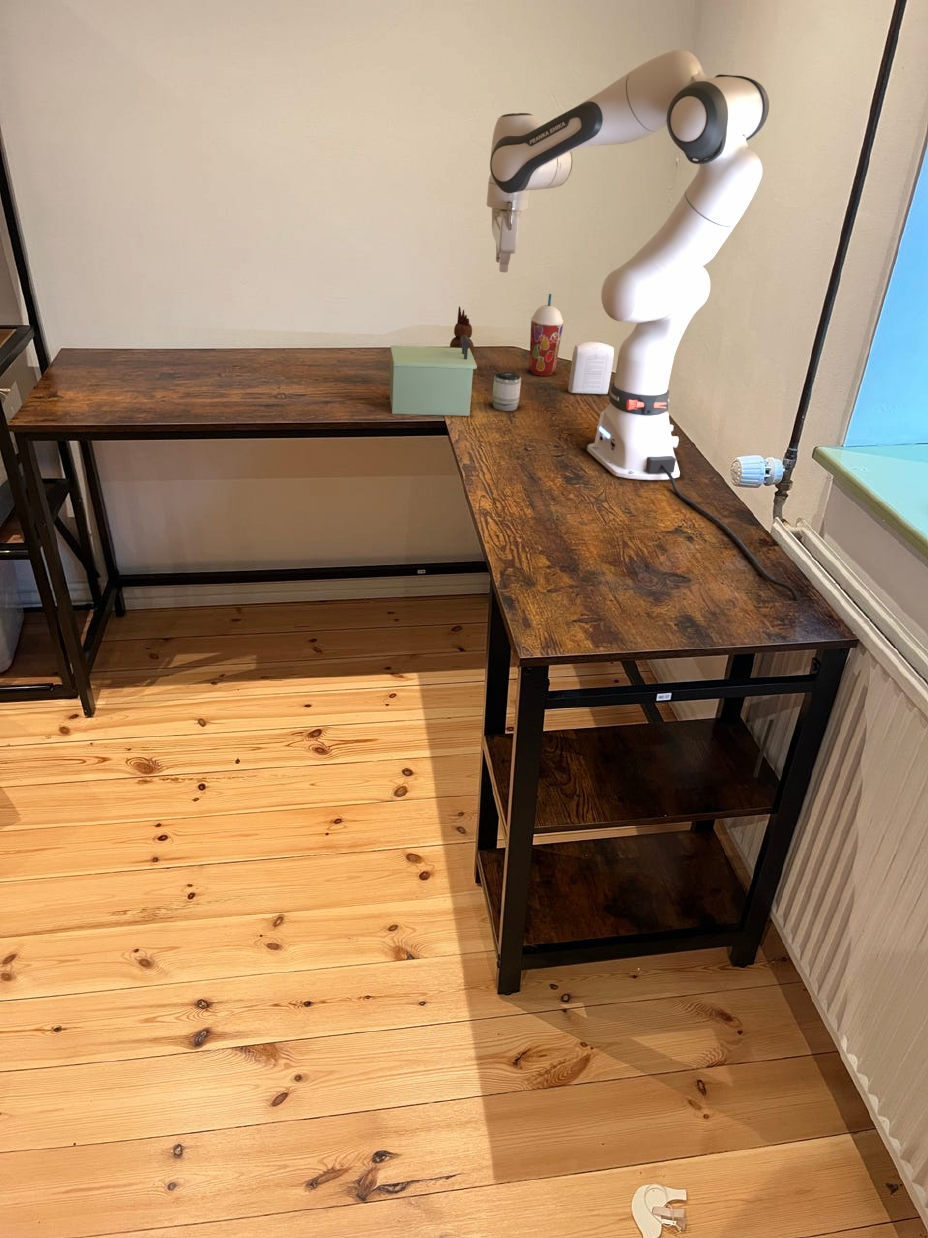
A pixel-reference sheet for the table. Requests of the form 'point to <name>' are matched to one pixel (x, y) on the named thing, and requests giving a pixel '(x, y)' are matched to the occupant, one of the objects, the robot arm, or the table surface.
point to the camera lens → (506, 391)
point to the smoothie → (545, 339)
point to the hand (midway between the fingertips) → (501, 266)
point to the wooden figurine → (462, 331)
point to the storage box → (430, 390)
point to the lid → (434, 356)
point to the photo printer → (591, 368)
